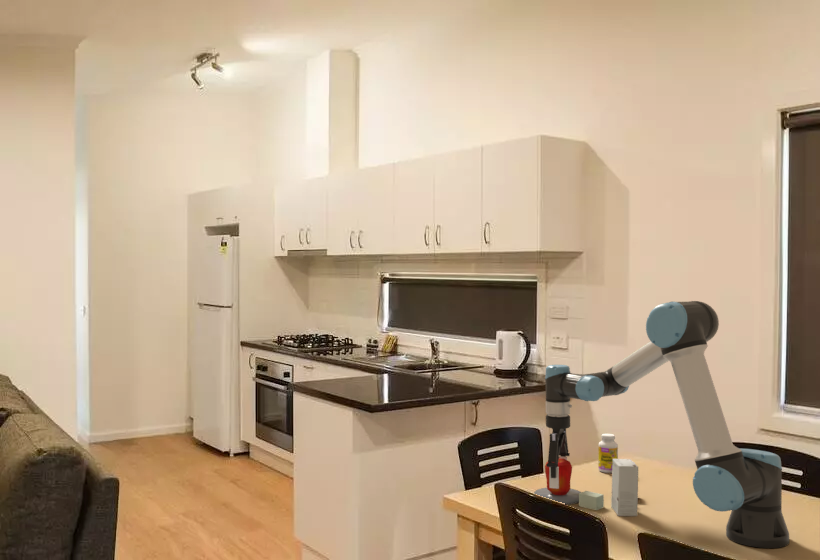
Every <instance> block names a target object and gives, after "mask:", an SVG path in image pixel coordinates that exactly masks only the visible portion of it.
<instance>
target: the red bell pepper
mask: <svg viewBox="0 0 820 560" xmlns="http://www.w3.org/2000/svg"><path fill="white" fill-rule="evenodd" d="M553 463H554V462H553ZM547 464H548V461H546V463H545V465H544V472H545V474H544V475H545V479H546V488H547V489H548V490H549V491H550V492H551V493H552V494H554V495H566V494H567V493H568V492H569V490H570V488H571V480H572V479H571V478H572V473H573V472H572V471H573V465H572V463H571V462H570V461H569V460H568V459H567V460H565V459H562V458H559V460H558V467H559V489H556V488H549V467H547Z"/></svg>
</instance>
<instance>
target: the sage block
mask: <svg viewBox="0 0 820 560" xmlns="http://www.w3.org/2000/svg"><path fill="white" fill-rule="evenodd" d="M580 492H581V493H579V503H578V507H580V508H584V509H589V510H593V511H598V510H599V511H600V510H601V509H603V508H604V503H605V502H604V501H605V500H604V498H605V497H604V493H603V494H602V493H598V492H593V491H589V490H584V491H580Z"/></svg>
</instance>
